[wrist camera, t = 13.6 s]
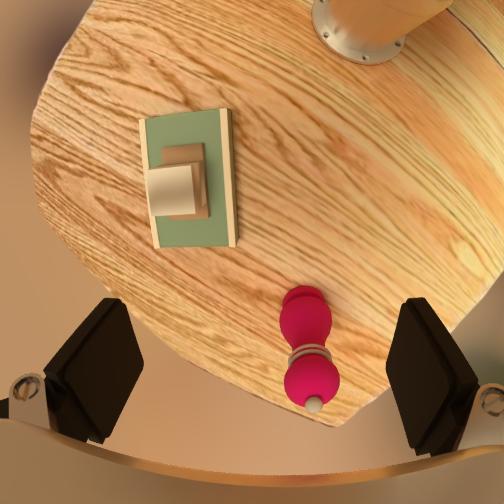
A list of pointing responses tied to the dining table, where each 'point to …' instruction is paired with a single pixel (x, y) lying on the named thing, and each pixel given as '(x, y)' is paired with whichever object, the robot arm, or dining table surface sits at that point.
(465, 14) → the dining table surface
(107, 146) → the dining table surface
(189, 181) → the butter dish
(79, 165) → the dining table surface
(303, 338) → the pepper mill
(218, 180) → the dock
